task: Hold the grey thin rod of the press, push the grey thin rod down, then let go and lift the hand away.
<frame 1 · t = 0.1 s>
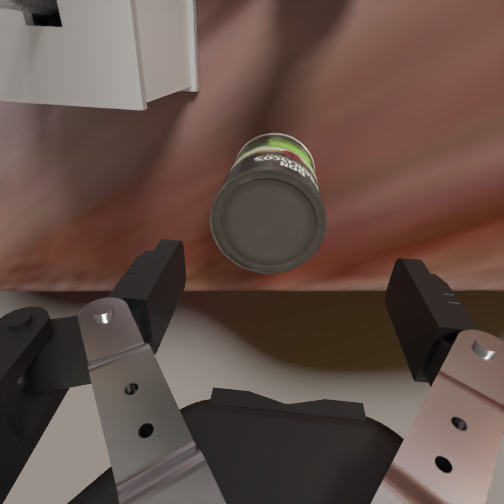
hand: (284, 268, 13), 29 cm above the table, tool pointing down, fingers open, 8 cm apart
press: (139, 22, 34), on the table
coffee can: (273, 174, 41), on the table
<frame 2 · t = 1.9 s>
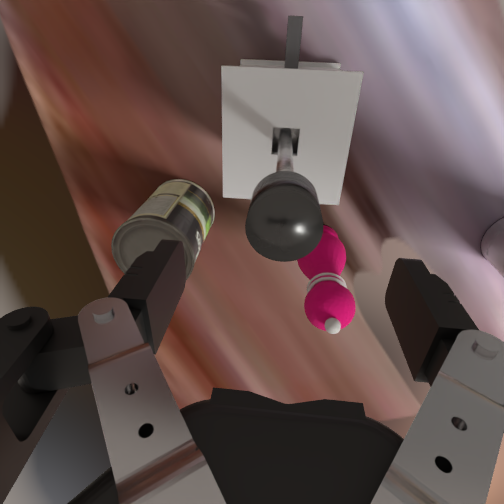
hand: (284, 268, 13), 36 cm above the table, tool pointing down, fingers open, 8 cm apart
press: (285, 113, 43), on the table
pepper mill: (318, 240, 53), on the table
grey thin rod: (285, 161, 24), point 22 cm above the table, slide at 0.0 cm
coffee can: (183, 208, 52), on the table
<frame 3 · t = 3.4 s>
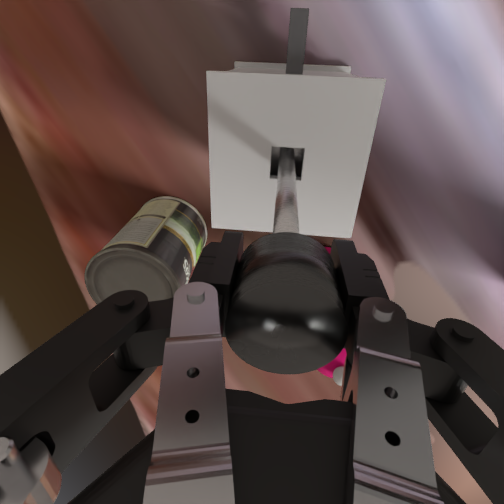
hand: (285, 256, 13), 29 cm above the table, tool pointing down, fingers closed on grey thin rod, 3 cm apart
press: (287, 123, 38), on the table
pepper mill: (323, 264, 48), on the table
grey thin rod: (286, 195, 19), point 22 cm above the table, slide at 0.0 cm, touching gripper
coffee can: (172, 228, 47), on the table
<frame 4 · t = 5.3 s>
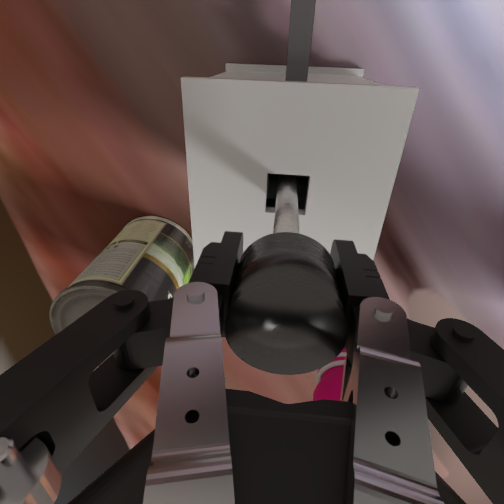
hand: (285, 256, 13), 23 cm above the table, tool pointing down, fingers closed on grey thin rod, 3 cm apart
press: (287, 135, 33), on the table
pepper mill: (328, 290, 42), on the table
grey thin rod: (286, 195, 19), point 16 cm above the table, slide at 6.2 cm, touching gripper
coffee can: (158, 250, 42), on the table
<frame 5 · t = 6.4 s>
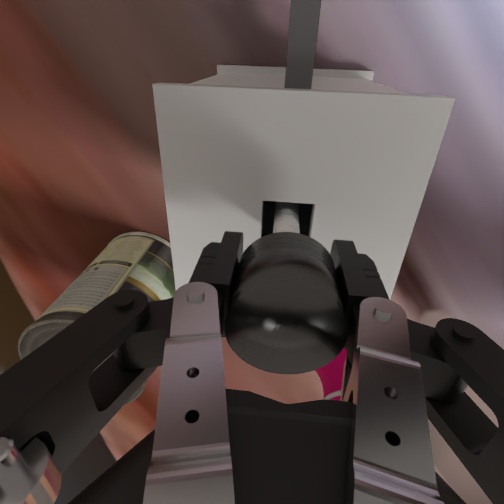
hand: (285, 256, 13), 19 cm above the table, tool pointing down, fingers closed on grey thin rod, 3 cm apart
press: (287, 144, 29), on the table
pepper mill: (332, 311, 39), on the table
grey thin rod: (286, 195, 19), point 12 cm above the table, slide at 10.2 cm, touching gripper
coffee can: (147, 268, 38), on the table
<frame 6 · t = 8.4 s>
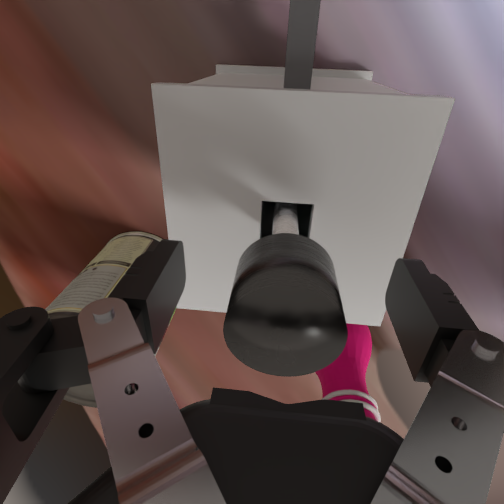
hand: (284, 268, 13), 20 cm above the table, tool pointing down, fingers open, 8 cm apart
press: (286, 144, 29), on the table
pepper mill: (331, 311, 39), on the table
grey thin rod: (285, 195, 19), point 12 cm above the table, slide at 10.1 cm
coffee can: (145, 268, 38), on the table
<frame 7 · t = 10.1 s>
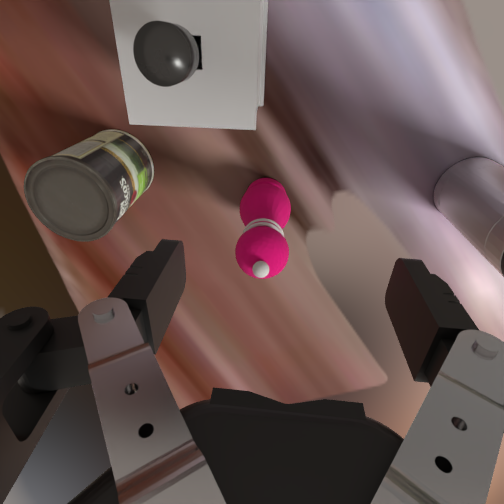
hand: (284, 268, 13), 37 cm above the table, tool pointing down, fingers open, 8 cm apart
press: (217, 49, 40), on the table
pepper mill: (266, 196, 50), on the table
grey thin rod: (196, 51, 30), point 12 cm above the table, slide at 10.1 cm
coffee can: (120, 163, 49), on the table
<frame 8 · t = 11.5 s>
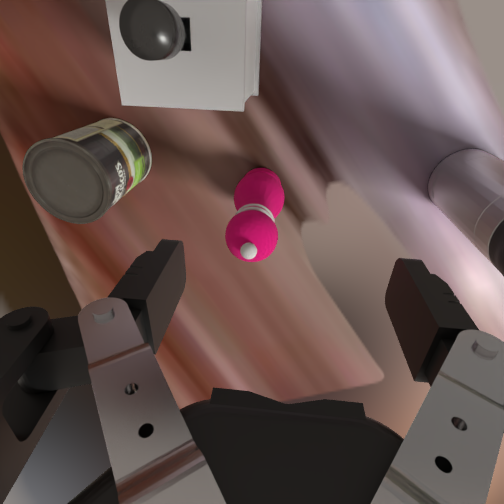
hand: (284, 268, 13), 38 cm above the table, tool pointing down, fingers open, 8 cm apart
press: (213, 39, 41), on the table
pepper mill: (261, 186, 51), on the table
grey thin rod: (188, 35, 31), point 12 cm above the table, slide at 10.1 cm
coffee can: (119, 152, 50), on the table
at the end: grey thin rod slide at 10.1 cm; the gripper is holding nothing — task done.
